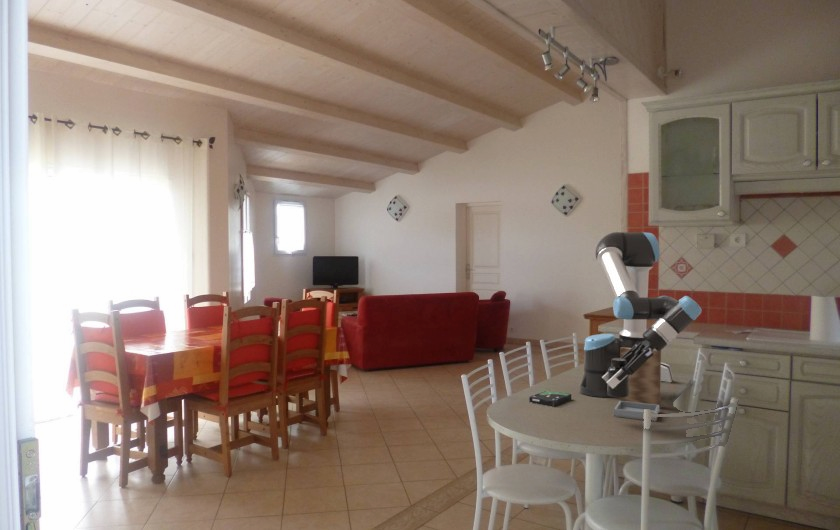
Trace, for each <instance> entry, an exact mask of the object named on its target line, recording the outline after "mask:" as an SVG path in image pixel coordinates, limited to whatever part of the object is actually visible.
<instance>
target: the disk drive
mask: <svg viewBox="0 0 840 530" xmlns="http://www.w3.org/2000/svg"><path fill="white" fill-rule="evenodd" d="M528 397H529V398H528V400H529V403H530V402H532V404H536V403H537V405H541V404H542V405H543V406H546V405H547V407H553V408H554V407H556V406H559V405H561V403H562V404H564V403H566V401H567V402H569V401H571V400H572V394H571V393H567V392H562V391H561V392H560V391H552V390H544V391H542V392H539V393H535V394H533V395H530V396H528Z"/></svg>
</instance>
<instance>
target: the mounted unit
mask: <svg viewBox="0 0 840 530" xmlns="http://www.w3.org/2000/svg"><path fill="white" fill-rule="evenodd" d="M630 349H631V348H625V347H621V348H620V358H621V357H622V356H623V355H624V354H625V353H626V352H627V351H629V350H630ZM652 353H653V354H654V355H653V356H651V357H650V358H649V359H648V360H647V361H646V362H645V363H644V364H643V365H642V366H641V367H640V368H639V369H637V370H636V371H635V372H634V373H633V374H632V375H629V395H628V397H625V398H619V399H618V400H619V401H628V402H637V403H646V404H655V405H659V410H660V409H661V383H662V382H661V362H662V350H661V351H657V350H656V349H655V350H653V351H652ZM619 401H618V402H619Z"/></svg>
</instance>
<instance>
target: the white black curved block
mask: <svg viewBox="0 0 840 530" xmlns="http://www.w3.org/2000/svg"><path fill="white" fill-rule="evenodd" d="M673 380H675V379H674V376H673V373H672V369H671V365H669V364H668V363H665V362H662V361H661V381H667V382H672V383H673V382H674V381H673ZM667 382H666V383H667Z"/></svg>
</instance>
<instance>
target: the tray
mask: <svg viewBox="0 0 840 530" xmlns="http://www.w3.org/2000/svg"><path fill="white" fill-rule="evenodd" d="M644 409H650V410H651V411H652V412H654V413H659V414H660V409H659V405H655V404H646V403H637V402H628V401H618V402H617V404H616V405H615V407H614V408H613V417H617V418H624V419H633V420H641V421H644V420H643V413H644V412H643V410H644ZM657 420H658V417H657V418H652V421H651V422H657Z"/></svg>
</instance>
